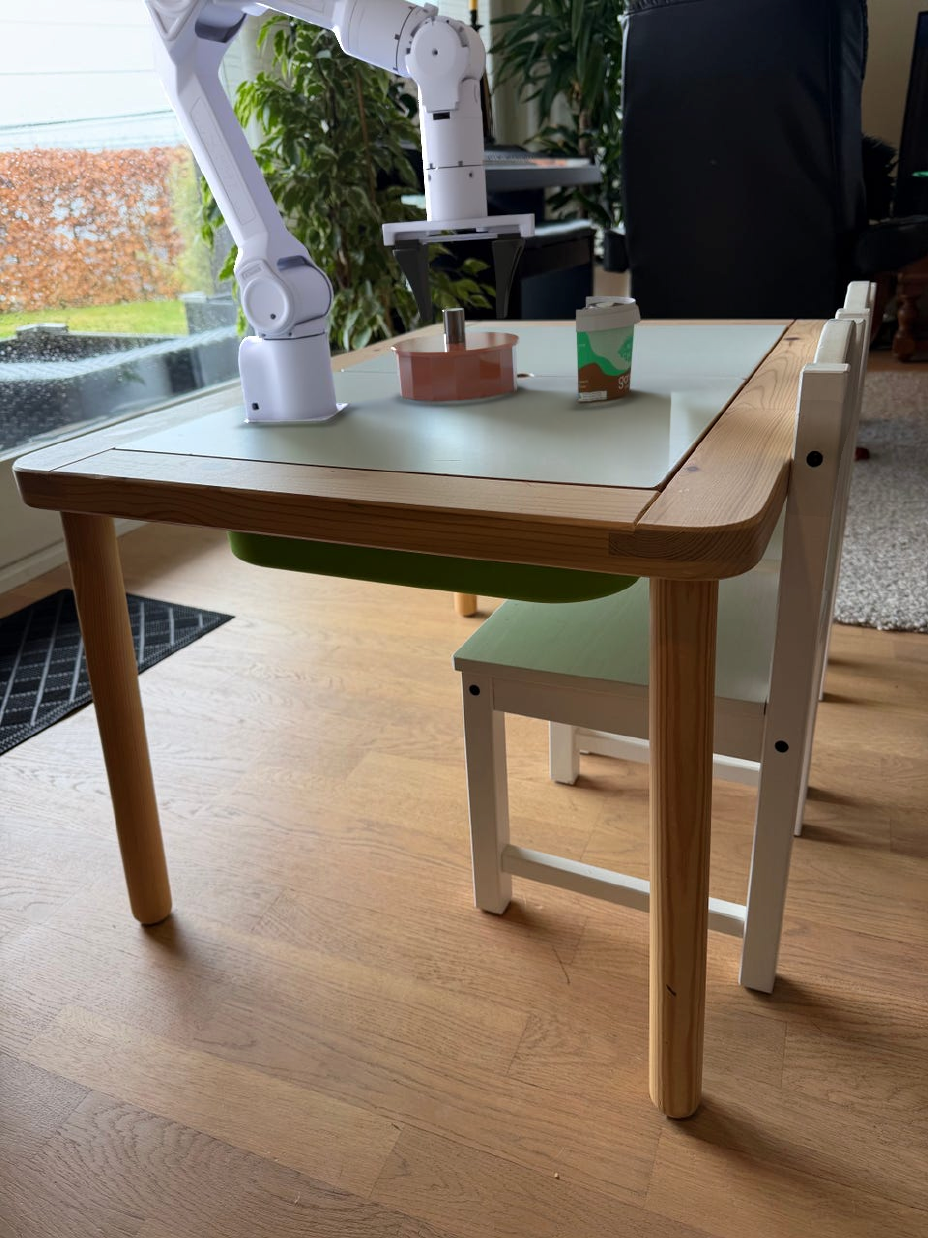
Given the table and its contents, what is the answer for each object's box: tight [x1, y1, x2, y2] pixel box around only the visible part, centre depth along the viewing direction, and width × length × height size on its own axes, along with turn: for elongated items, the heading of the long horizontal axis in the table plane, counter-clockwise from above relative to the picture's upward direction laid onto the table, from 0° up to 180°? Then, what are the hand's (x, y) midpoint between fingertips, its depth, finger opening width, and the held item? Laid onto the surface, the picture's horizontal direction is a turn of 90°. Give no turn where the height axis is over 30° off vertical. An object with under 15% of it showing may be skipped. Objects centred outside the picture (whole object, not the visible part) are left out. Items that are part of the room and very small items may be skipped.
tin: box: [395, 345, 519, 402], centre depth 110 cm, size 14×14×5 cm
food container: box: [575, 295, 642, 404], centre depth 100 cm, size 12×6×10 cm, turn 168°
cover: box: [391, 307, 520, 357], centre depth 108 cm, size 15×15×5 cm
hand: (464, 318), depth 94 cm, fingers open, 7 cm apart
